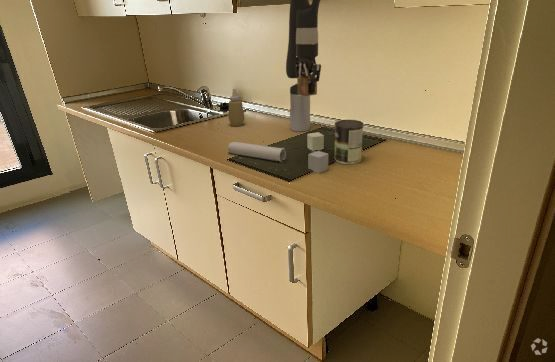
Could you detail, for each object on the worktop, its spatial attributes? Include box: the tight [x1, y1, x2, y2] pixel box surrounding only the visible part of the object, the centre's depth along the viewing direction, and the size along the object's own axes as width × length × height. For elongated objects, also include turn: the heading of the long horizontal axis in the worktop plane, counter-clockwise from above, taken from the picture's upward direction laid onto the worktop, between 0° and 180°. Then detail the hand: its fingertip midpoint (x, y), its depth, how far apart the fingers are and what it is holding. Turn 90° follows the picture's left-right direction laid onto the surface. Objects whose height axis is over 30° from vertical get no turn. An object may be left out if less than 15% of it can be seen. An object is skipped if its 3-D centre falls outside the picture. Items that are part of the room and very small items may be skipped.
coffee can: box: [333, 119, 364, 165], centre depth 142 cm, size 10×10×14 cm
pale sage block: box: [306, 131, 325, 152], centre depth 156 cm, size 5×5×6 cm
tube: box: [227, 141, 287, 163], centre depth 151 cm, size 5×5×25 cm
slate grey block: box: [307, 150, 329, 174], centre depth 136 cm, size 5×5×6 cm
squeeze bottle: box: [228, 88, 245, 127], centre depth 190 cm, size 8×8×18 cm
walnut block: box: [296, 76, 318, 97], centre depth 136 cm, size 5×5×6 cm
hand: (307, 92), depth 137 cm, fingers closed on walnut block, 5 cm apart
